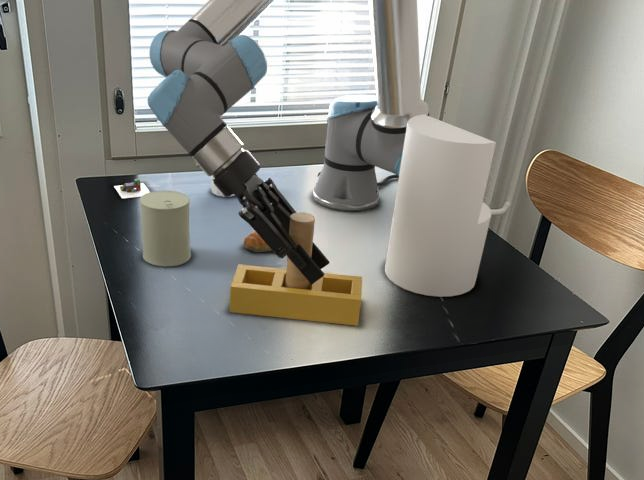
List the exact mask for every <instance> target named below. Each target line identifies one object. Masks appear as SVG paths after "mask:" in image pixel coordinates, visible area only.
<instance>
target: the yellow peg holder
mask: <svg viewBox="0 0 644 480" xmlns="http://www.w3.org/2000/svg"><path fill="white" fill-rule="evenodd" d="M286 269H287V268H280V267H279V268H278V267H269V266H261V265H248V264H240V263H239V264H238V265H237V267H236V270H235V273H234V276H233V278H232V281H231V284H230V287H229V288H230V290H229V291H230V292H229V293H230V295H229V296H230V297H229V301H230V302H229V313H233V314H235V313H236V314H243V315H251V316H252V315H253V316H261V317H262V316H263V317H271V318H281V319H290V320H300V321H310V322H319V323H329V324H335V325H336V324H337V325H348V326H359V319H360V313H361V304H362V290H363V276H357V275H347V274H339V273H338V274H337V273H329V272H323V273H324V274H325V275H324V276H323V277H322V278H320V279H319V280H317V281H316V282H315V283H313V284H312V285H311V283H310V282H309V289H308V290H305V289H295V288H285V283H286Z"/></svg>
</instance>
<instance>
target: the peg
mask: <svg viewBox="0 0 644 480" xmlns="http://www.w3.org/2000/svg"><path fill="white" fill-rule="evenodd" d="M315 224H316V217H315V216H314V215H313V214H312V213H308V212H304V211H302V212H300V211H299V212H297V213H293V214H292V215H291V216H290V227H289V235H290V237H291V238H292V239H293V241H294V242H295V244H296V245H297V246H298V245H299V244H300V245H301V247H302V248H303V249H304V250H305V251H306V253H307V254H308V255H309V256H310V257H311V256H312V246H313V243H314V236H315V235H314V234H315ZM285 269H286V283H285V288H295V289H305V290H308V289H309V281H308V280H307V279H306V278H305V276H304V275H303V274H302V273H301V272H300V271H299V269H298V268H297V267H296V266H295V265H294V264H293V262H292V261H291V260H290V259H289V258H288V257H286V268H285Z"/></svg>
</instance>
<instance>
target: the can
mask: <svg viewBox="0 0 644 480" xmlns="http://www.w3.org/2000/svg"><path fill="white" fill-rule="evenodd" d="M190 201H191V200H190V197H189V196H188V195H187V194H186V193H183V192H180V191H177V190H169V189H168V190H163V189H162V190H153V191H150V192H149V193H146V194H144V195H143V196H141V197H140V198H139V203H140V215H141V230H142V231H141V232H142V258H143V260H144V261H145V262H146V263H147V264H150V265H153V266H156V267H164V268H165V267H177V266H181V265H184V264H185V263H187V262H188V261H189V260H191V257H192V252H191V236H190V235H191V232H190V203H191V202H190Z"/></svg>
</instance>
